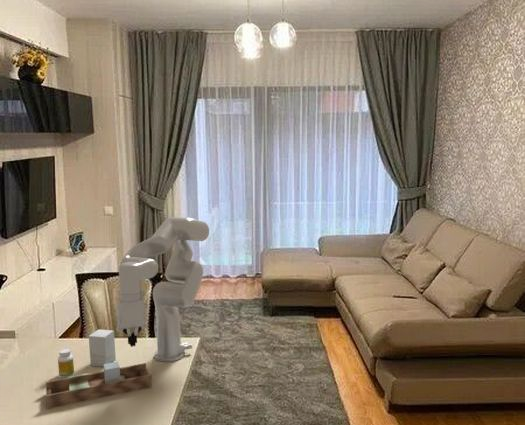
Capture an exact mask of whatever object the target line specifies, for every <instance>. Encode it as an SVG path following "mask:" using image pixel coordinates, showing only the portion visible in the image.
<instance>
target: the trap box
mask: <svg viewBox="0 0 525 425" xmlns="http://www.w3.org/2000/svg"><path fill="white" fill-rule="evenodd" d="M152 387H153V384H152V374H151V373H150V374H149V371H148V370H147V363H146V362H144V363H139V364H133V365H128V366H124V367H120V380H119V381H114V382H109V383H105V379H104V370H101V371H96V372H91V373H90V372H89V373H88V372H87V373H82V374H76V375H75V374H74V375H72V376H70V377H66V378H59V379H53V380H48V381H45V392H46V393H45V405H46V410H48V409H53V408H57V407H62V406H67V405H68V406H69V405H73V404H77V403H82V402H87V401H92V400H96V399H101V398H104V397H106V398H107V397H110V396H115V395H121V394H126V393H129V392H135V391H139V390H143V389H149V388H152Z"/></svg>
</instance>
